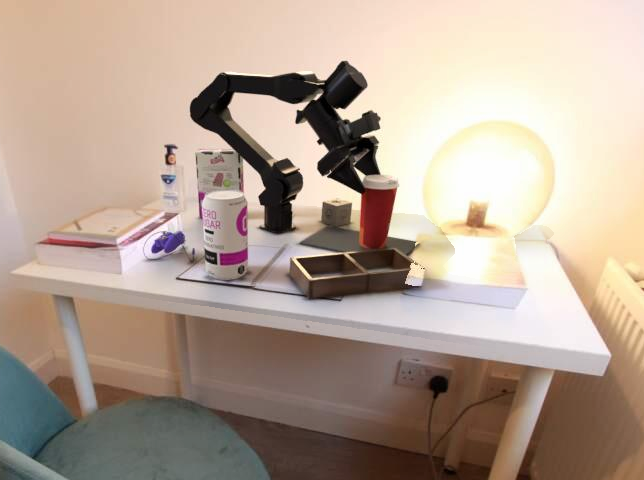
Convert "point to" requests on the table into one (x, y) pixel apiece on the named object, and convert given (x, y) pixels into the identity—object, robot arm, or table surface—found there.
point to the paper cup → (376, 210)
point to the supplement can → (225, 234)
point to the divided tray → (351, 272)
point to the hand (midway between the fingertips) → (372, 188)
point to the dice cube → (336, 212)
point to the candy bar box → (218, 172)
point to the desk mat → (350, 241)
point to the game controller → (169, 243)
